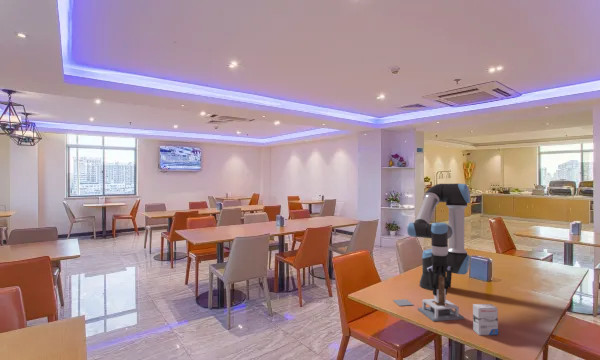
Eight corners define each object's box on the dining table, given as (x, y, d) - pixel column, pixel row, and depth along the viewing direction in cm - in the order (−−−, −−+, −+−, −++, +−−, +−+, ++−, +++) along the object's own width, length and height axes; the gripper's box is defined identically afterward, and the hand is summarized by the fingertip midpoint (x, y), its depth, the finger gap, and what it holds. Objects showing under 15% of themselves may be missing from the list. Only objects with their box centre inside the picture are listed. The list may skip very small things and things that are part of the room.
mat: (406, 299, 179) (406, 299, 179) (413, 305, 171) (413, 304, 171) (392, 300, 178) (392, 300, 178) (399, 306, 170) (399, 305, 170)
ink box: (491, 329, 143) (491, 303, 143) (498, 335, 138) (498, 307, 138) (472, 330, 142) (472, 303, 142) (479, 335, 137) (478, 308, 137)
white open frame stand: (446, 307, 168) (446, 297, 168) (463, 319, 154) (463, 307, 154) (417, 309, 165) (417, 299, 165) (433, 321, 151) (433, 309, 151)
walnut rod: (441, 307, 161) (440, 275, 161) (444, 309, 158) (444, 277, 158) (435, 307, 161) (435, 275, 161) (439, 309, 158) (438, 277, 158)
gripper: (449, 252, 165) (449, 297, 164) (420, 253, 162) (420, 299, 162) (459, 255, 157) (459, 303, 157) (428, 256, 155) (429, 305, 154)
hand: (439, 301), depth 159 cm, fingers closed on walnut rod, 3 cm apart
